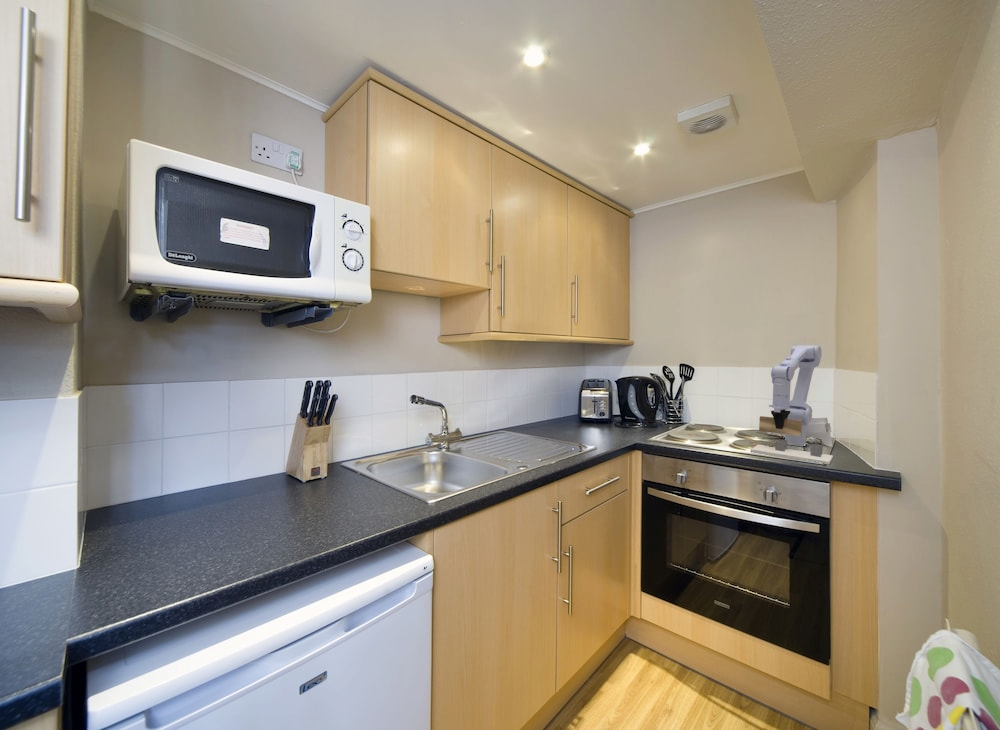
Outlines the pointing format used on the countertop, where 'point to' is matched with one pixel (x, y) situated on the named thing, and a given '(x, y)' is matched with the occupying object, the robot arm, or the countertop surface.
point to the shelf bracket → (817, 430)
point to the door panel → (789, 426)
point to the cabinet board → (794, 452)
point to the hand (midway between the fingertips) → (780, 428)
